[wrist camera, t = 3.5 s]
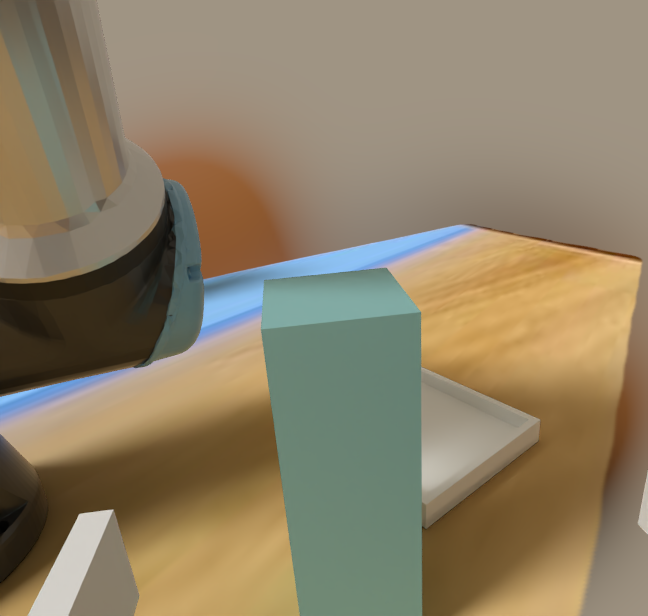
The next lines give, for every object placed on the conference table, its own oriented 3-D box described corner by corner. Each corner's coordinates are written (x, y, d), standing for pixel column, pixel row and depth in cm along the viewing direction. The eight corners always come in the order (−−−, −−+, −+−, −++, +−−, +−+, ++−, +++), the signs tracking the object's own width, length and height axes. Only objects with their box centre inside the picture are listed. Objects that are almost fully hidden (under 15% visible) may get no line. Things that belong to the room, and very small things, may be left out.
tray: (306, 437, 41) (304, 417, 40) (413, 381, 48) (413, 363, 47) (426, 529, 31) (426, 504, 30) (538, 441, 38) (540, 419, 37)
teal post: (422, 638, 25) (420, 311, 18) (305, 656, 24) (261, 329, 18) (394, 543, 30) (386, 267, 24) (299, 556, 30) (264, 280, 23)
